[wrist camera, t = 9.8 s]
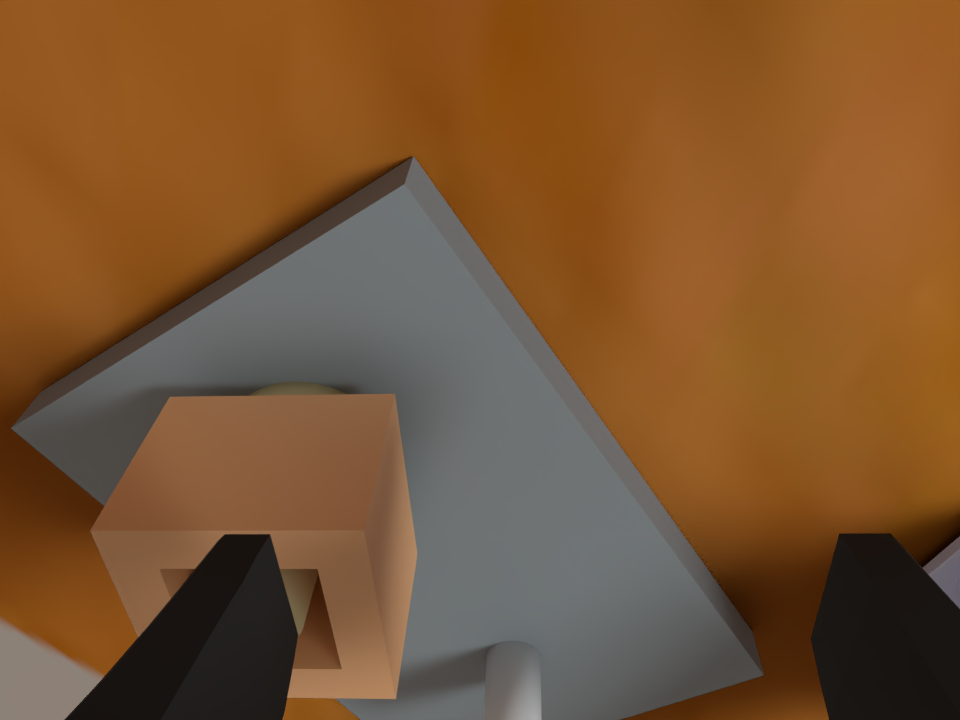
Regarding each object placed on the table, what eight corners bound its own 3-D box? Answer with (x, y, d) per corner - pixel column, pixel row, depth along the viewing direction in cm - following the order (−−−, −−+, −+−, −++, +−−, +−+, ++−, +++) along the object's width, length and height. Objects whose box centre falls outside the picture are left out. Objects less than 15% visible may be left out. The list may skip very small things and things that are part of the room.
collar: (395, 393, 18) (363, 530, 14) (417, 554, 21) (396, 698, 17) (169, 396, 18) (90, 531, 15) (222, 553, 21) (164, 695, 18)
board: (753, 632, 25) (812, 855, 20) (435, 737, 30) (414, 945, 24) (413, 156, 17) (360, 318, 12) (40, 391, 21) (-123, 590, 16)
